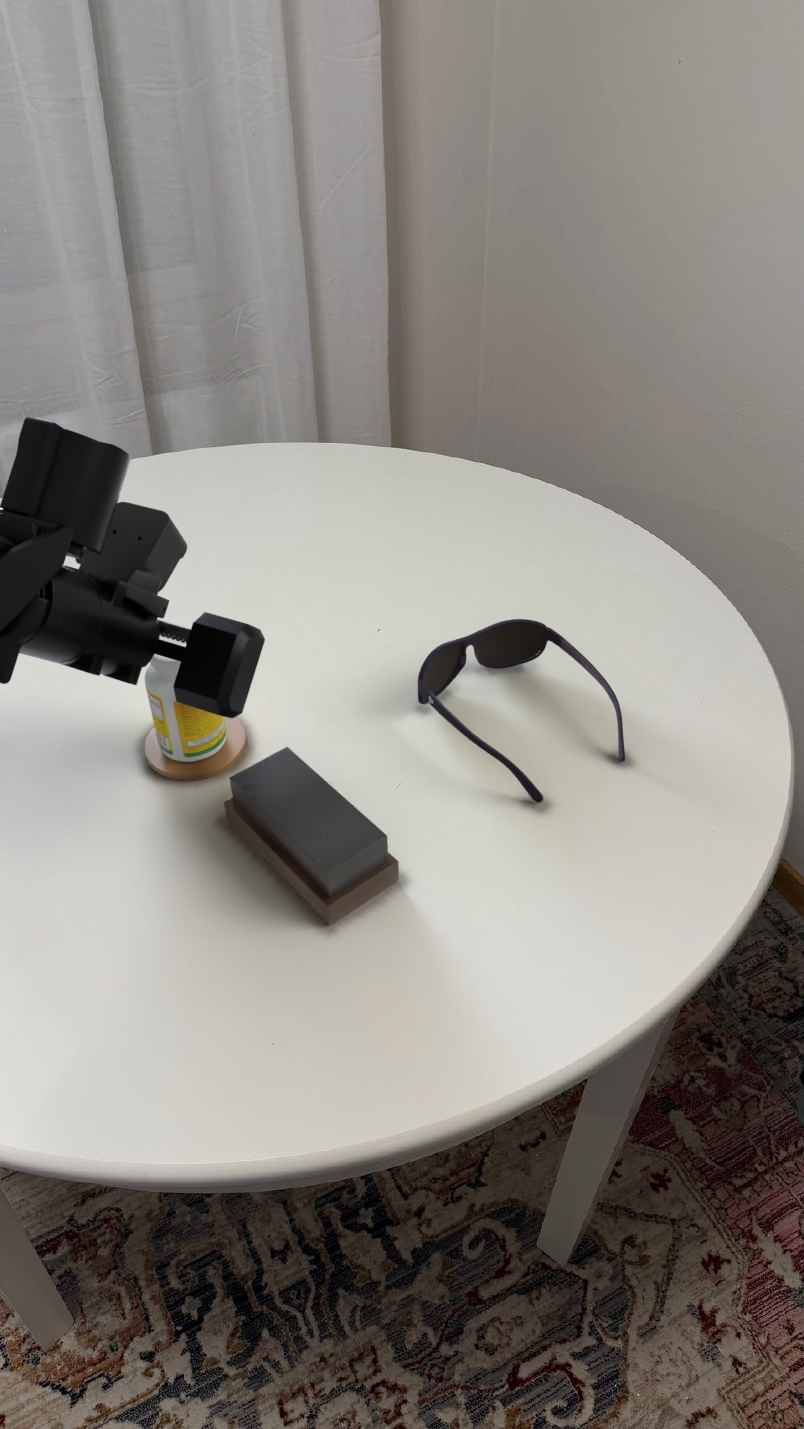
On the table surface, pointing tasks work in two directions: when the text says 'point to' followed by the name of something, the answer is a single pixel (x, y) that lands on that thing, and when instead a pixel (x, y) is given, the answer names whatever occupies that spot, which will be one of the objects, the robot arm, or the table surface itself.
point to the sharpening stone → (310, 834)
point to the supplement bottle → (180, 715)
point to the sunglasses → (498, 650)
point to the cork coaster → (203, 767)
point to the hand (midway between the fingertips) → (192, 659)
